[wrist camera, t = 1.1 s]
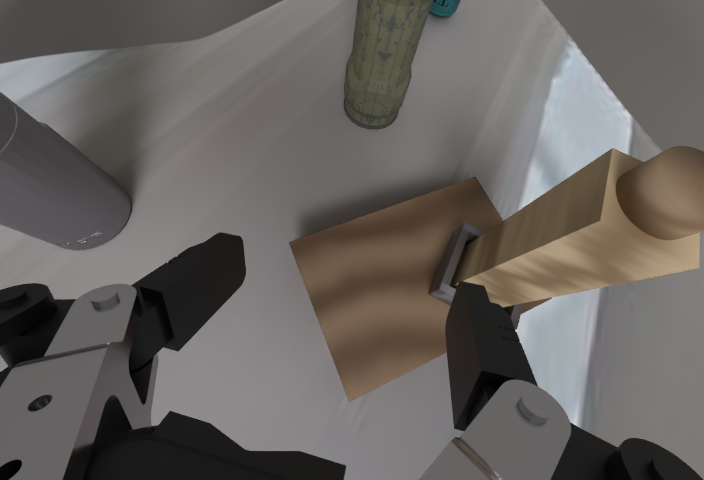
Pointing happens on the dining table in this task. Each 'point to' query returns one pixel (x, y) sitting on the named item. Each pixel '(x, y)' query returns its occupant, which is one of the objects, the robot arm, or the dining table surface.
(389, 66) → the thermos
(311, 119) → the dining table surface
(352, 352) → the board with square socket
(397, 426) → the dining table surface
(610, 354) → the dining table surface
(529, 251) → the wooden square peg
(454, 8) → the beverage bottle
